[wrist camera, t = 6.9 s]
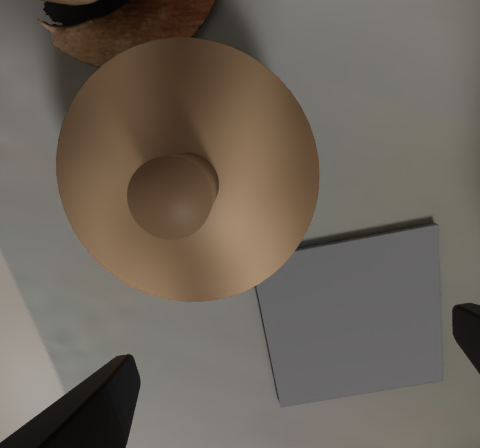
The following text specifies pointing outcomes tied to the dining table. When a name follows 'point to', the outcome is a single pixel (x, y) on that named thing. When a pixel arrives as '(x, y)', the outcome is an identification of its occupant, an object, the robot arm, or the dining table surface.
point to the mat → (355, 316)
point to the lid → (187, 169)
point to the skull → (120, 24)
